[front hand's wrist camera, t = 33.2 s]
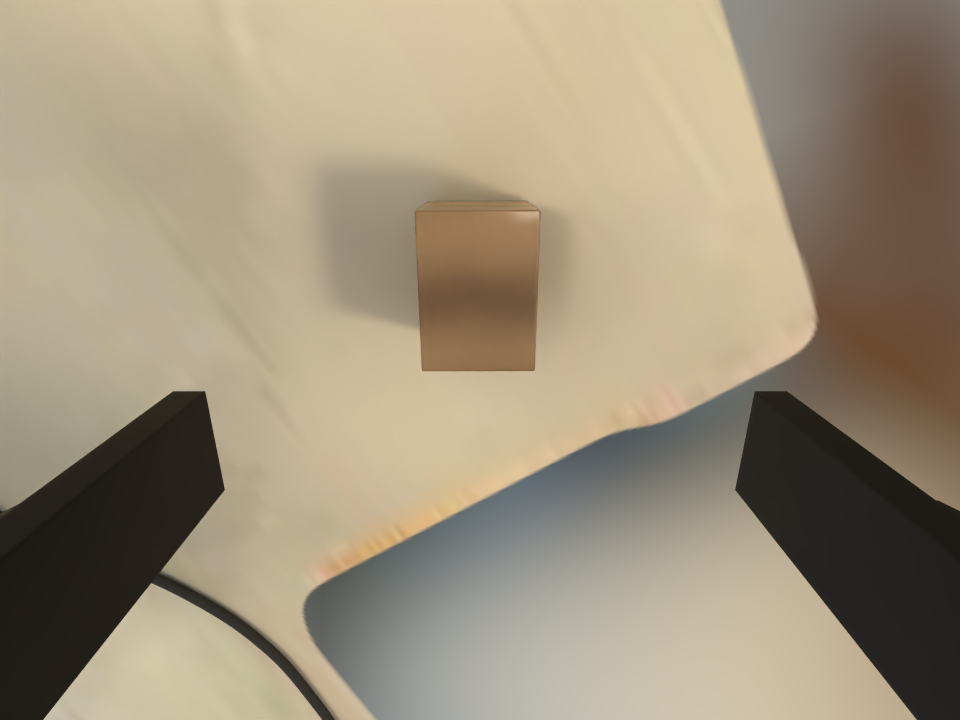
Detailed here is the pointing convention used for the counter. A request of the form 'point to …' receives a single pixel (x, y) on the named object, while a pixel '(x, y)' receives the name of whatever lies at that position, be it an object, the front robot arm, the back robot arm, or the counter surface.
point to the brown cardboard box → (477, 284)
